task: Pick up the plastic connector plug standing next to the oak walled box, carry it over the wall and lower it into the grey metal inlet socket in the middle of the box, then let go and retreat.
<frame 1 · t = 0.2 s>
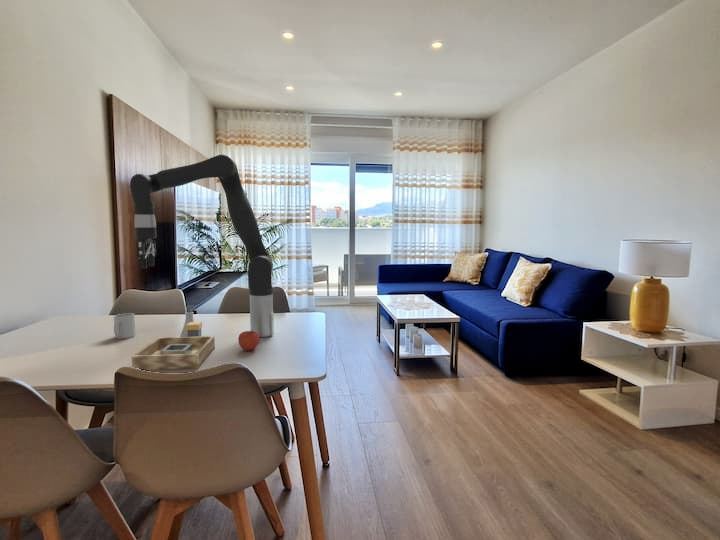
hand: (147, 267, 164), 29 cm above the table, fingers open, 8 cm apart
apple: (249, 350, 151), on the table
walled box: (177, 358, 141), on the table
cup: (123, 338, 166), on the table
connector: (194, 343, 159), on the table
inlet socket: (176, 351, 141), in the walled box, point 2 cm above the table
flask: (190, 336, 169), on the table
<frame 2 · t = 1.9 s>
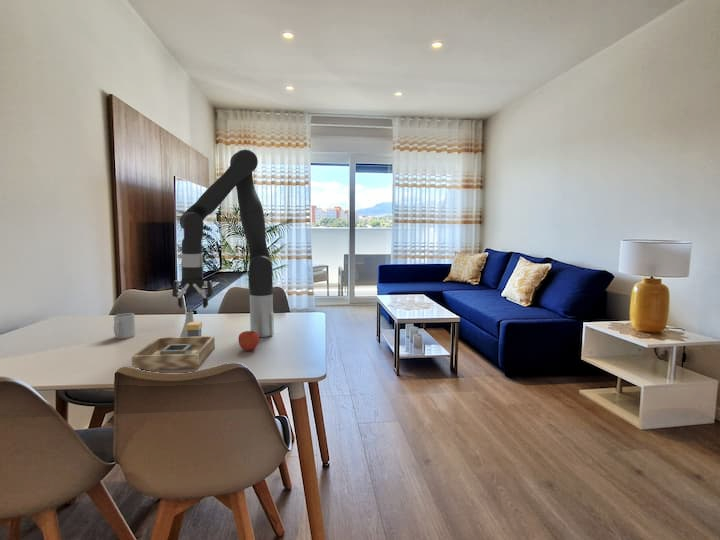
hand: (193, 307, 157), 14 cm above the table, fingers open, 8 cm apart
nothing on the table moved.
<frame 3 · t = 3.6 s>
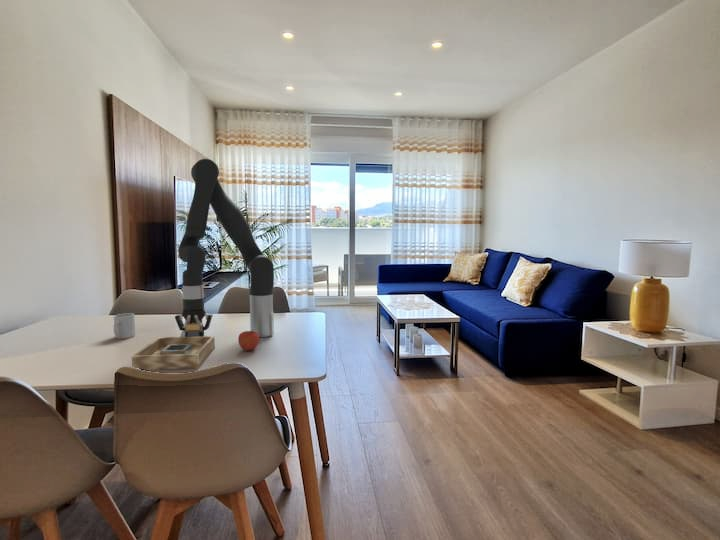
hand: (194, 340, 159), 1 cm above the table, fingers closed on connector, 4 cm apart
connector: (195, 343, 159), on the table, touching gripper
everything else where it was.
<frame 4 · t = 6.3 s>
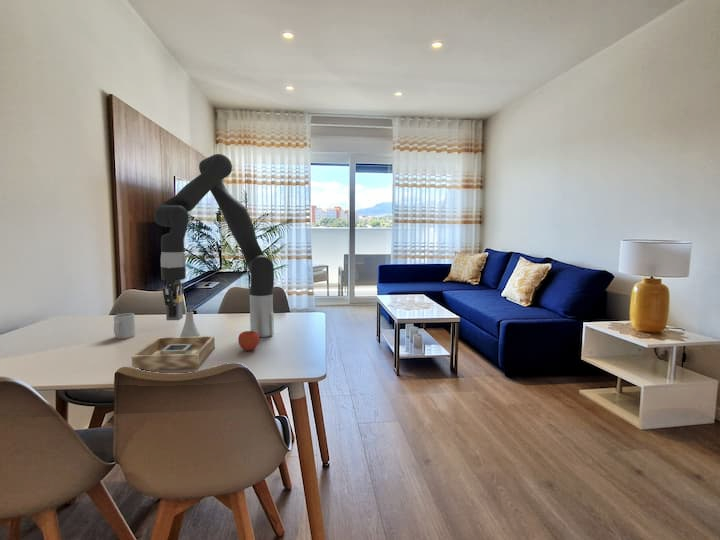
hand: (174, 315, 140), 15 cm above the table, fingers closed on connector, 4 cm apart
connector: (174, 318, 140), point 14 cm above the table, touching gripper
everything else where it was.
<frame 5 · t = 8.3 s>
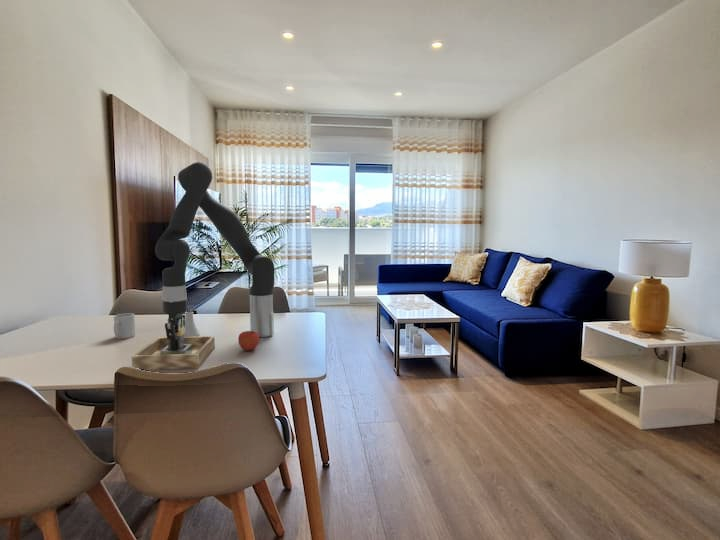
hand: (176, 347, 141), 4 cm above the table, fingers closed on connector, inlet socket, 4 cm apart
connector: (176, 351, 141), point 2 cm above the table, touching gripper
everything else where it was.
when the fingers open (4 cm above the table, at t = 9.2 s): connector drops 2 cm, resting on walled box.
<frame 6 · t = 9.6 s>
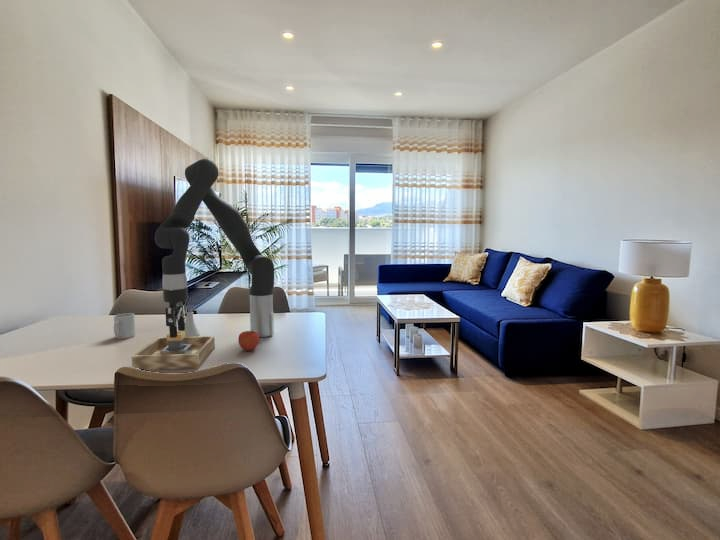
hand: (177, 333, 140), 9 cm above the table, fingers open, 8 cm apart
connector: (176, 356, 141), point 1 cm above the table, touching walled box
everything else where it was.
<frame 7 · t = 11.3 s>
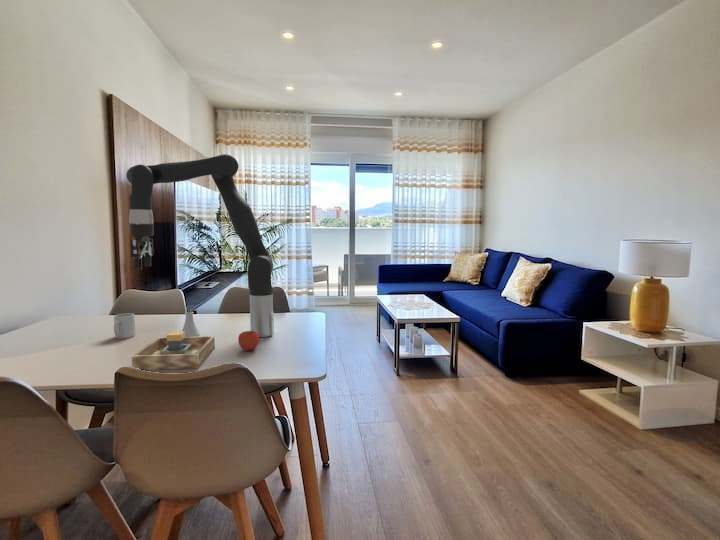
hand: (143, 268, 148), 30 cm above the table, fingers open, 8 cm apart
nothing on the table moved.
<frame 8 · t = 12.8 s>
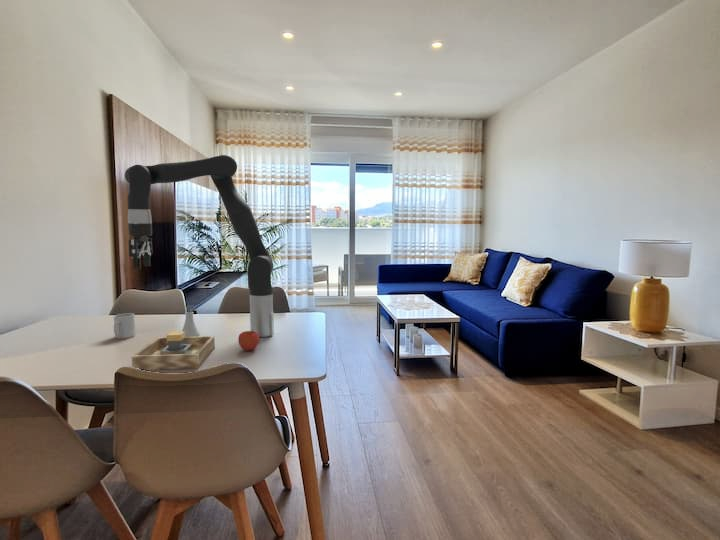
hand: (142, 267, 149), 30 cm above the table, fingers open, 8 cm apart
nothing on the table moved.
at the end: connector 0.1 cm off-centre on the inlet socket, point 0.8 cm above the inlet socket's base; connector tilted 0°; the gripper is holding nothing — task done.
